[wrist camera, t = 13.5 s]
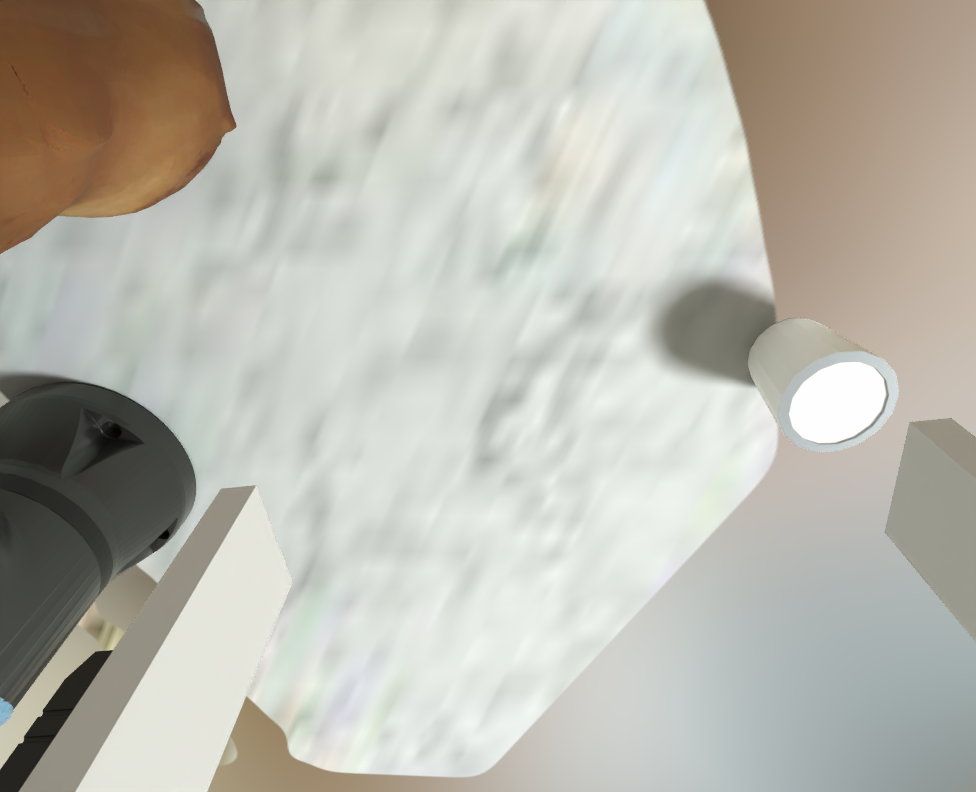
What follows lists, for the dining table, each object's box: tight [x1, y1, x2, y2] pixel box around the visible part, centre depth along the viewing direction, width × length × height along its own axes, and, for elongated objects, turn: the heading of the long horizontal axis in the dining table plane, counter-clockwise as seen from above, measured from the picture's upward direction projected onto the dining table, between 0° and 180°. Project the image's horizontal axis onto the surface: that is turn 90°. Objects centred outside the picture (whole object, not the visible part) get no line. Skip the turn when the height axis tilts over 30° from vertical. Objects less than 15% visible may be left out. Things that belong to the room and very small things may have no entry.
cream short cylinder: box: [747, 318, 899, 452], centre depth 39 cm, size 7×7×7 cm
